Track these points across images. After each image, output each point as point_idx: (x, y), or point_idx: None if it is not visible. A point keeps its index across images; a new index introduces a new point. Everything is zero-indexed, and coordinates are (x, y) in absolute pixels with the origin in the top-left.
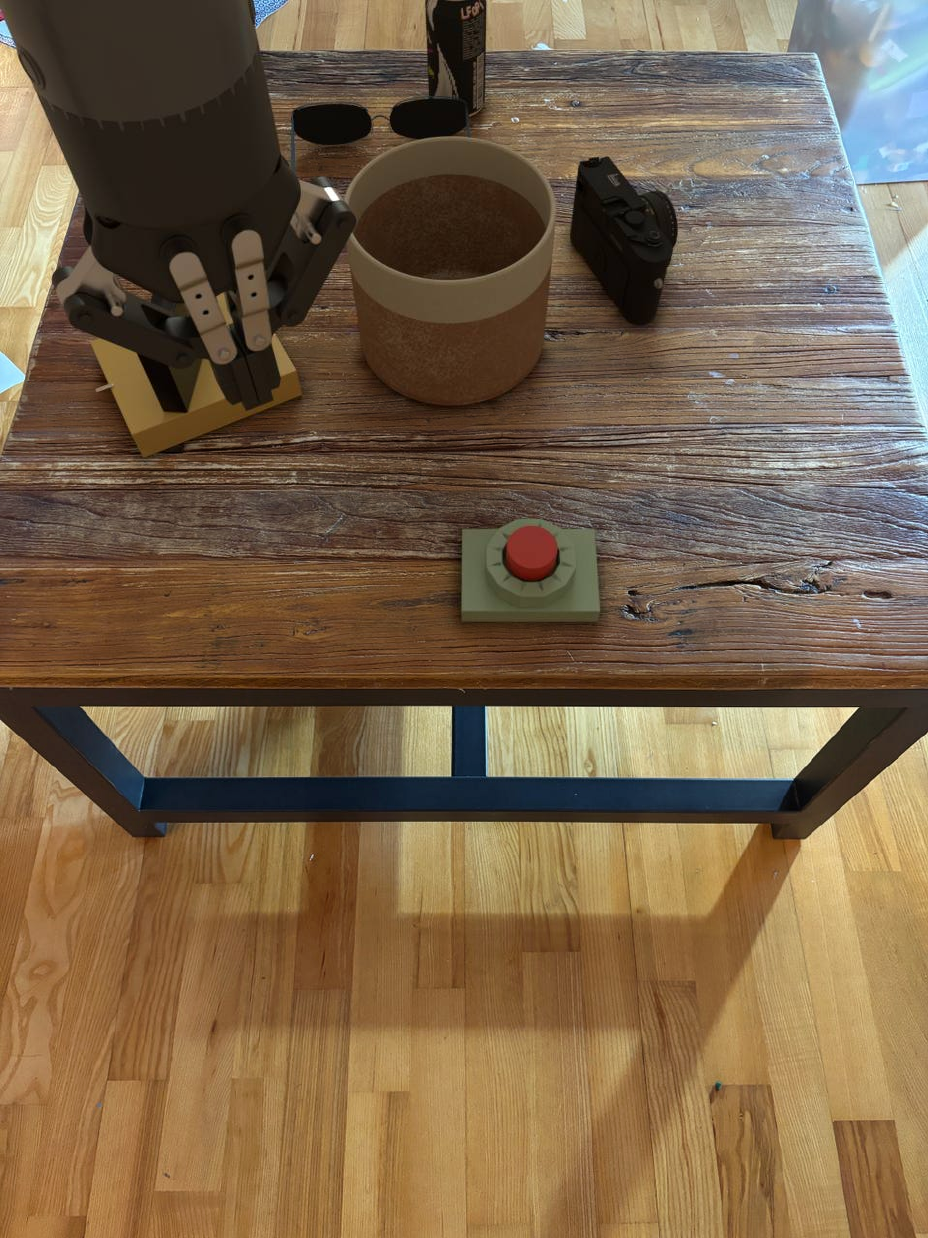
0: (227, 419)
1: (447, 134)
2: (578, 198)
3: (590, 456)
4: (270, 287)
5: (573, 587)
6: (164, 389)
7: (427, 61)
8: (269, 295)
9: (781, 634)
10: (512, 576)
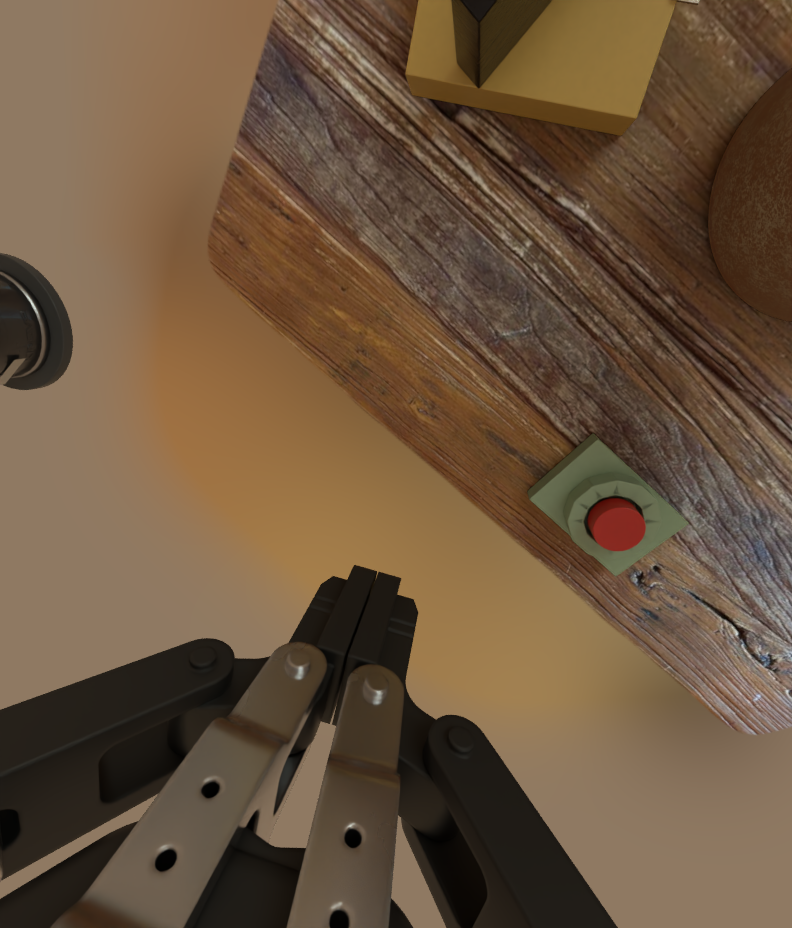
0: (521, 113)
1: None
2: None
3: (776, 447)
4: (426, 792)
5: None
6: (465, 52)
7: None
8: (412, 796)
9: (705, 665)
10: (583, 523)
